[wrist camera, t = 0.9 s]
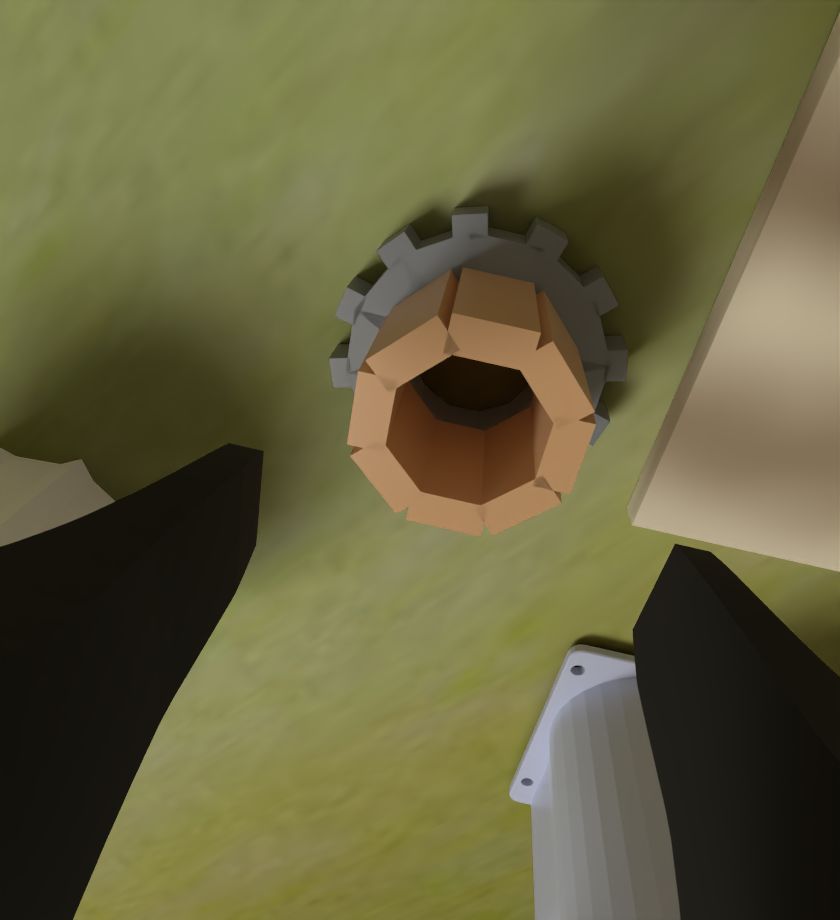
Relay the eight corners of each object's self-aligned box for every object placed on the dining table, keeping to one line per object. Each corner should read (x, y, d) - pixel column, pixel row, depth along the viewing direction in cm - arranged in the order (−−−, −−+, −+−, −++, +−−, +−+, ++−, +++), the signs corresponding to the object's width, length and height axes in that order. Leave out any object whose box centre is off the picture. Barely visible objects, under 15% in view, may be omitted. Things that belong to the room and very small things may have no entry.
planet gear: (570, 498, 22) (586, 605, 17) (325, 442, 22) (277, 536, 17) (664, 244, 17) (718, 299, 13) (360, 177, 17) (310, 208, 13)
